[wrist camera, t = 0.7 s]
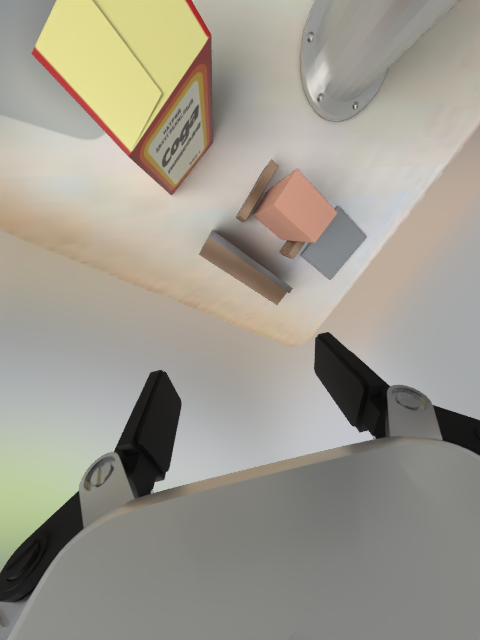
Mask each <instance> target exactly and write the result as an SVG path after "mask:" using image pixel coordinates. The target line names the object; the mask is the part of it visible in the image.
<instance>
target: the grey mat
mask: <svg viewBox="0 0 480 640" xmlns="http://www.w3.org/2000/svg"><path fill="white" fill-rule="evenodd" d="M335 211H336V212H337V214H336V216H335V217H334V218H333V220H332V221H331V222H330V223H329V225H328V226H327V227H326V229H325V230H324V231H323V233H322V234H321V235H320V237H319V238H318V239H317V241H316V242H315V243H309V244H308V246H307V247H306V248H305V250H304V251H303V252H302V254H301V256H302V257H303V258H304V259H305V260H307V261H308V262H309V263H310V264H311V265H313V266H314V267H315V268H316V269H317V270H319V271H320V272H321V273H322V274H323V275H325V276H326V277H327V278H328V279H329V280H331V279H332V278H333V276H334V275H335V274H336V273H337V272H338V270H339V269H340V268H341V267H342V266H343V265H344V263H345V262H346V261H347V260H348V259H349V258H350V256H351V255H352V254H353V253H354V252H355V250H356V249H357V248H358V247H359V246H360V245H361V243H362V242H363V241H364V240H365V239H366V236H365V235H364V234H363V233H362V231H361V230H360V229H359V228H358V227H357V226H356V225H355V224H354V223H353V221H352V220H351V219H350V218H349V217H348V216H347V215H346V214H345V213H344V211H343V210H342V209H341V208H340V207H339V206H337V207H336V208H335Z"/></svg>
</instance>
